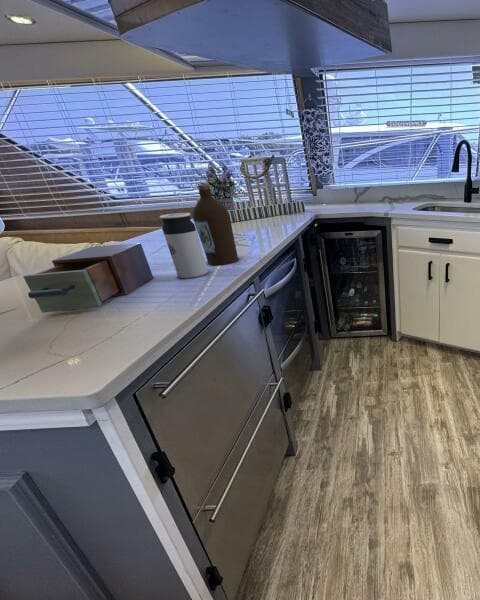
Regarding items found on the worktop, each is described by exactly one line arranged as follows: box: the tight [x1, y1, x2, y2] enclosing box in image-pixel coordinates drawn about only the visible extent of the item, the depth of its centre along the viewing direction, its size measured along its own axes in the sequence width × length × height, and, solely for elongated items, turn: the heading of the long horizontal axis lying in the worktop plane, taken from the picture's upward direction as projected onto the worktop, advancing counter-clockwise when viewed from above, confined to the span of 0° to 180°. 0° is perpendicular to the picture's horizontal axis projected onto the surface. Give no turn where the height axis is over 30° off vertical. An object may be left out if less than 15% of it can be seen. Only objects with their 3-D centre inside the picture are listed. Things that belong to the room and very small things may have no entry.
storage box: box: [51, 242, 154, 297], centre depth 88 cm, size 15×13×11 cm
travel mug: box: [159, 212, 209, 279], centre depth 95 cm, size 8×8×18 cm
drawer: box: [22, 259, 121, 313], centre depth 77 cm, size 18×11×9 cm, turn 12°
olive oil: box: [192, 184, 239, 266], centre depth 106 cm, size 11×11×25 cm
